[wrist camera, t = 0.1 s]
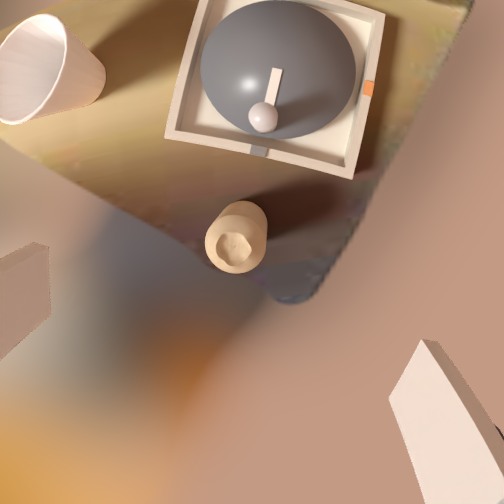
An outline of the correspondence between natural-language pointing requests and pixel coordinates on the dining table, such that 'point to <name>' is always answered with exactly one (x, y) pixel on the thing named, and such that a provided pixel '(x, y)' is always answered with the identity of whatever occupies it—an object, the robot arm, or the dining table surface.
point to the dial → (278, 69)
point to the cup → (46, 71)
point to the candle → (237, 237)
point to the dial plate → (287, 150)
